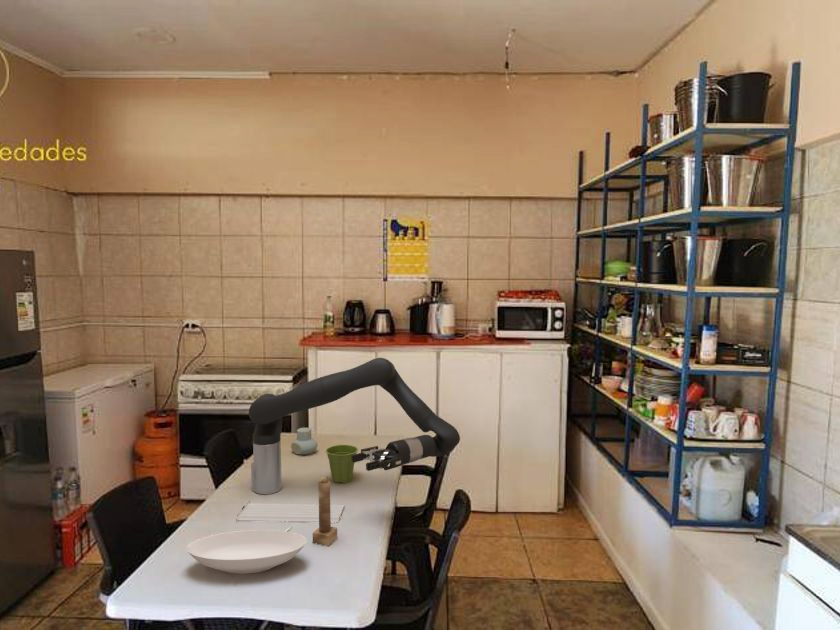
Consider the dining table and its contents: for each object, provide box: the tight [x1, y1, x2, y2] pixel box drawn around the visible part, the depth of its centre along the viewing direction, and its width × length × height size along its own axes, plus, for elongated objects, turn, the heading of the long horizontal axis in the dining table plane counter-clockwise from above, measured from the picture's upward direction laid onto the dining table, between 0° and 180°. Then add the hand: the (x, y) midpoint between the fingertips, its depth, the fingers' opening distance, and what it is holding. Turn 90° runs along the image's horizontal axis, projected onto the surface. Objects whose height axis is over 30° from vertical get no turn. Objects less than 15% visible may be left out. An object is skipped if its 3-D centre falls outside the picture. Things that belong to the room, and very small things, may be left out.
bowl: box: [186, 529, 307, 575], centre depth 137 cm, size 30×15×6 cm, turn 94°
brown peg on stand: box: [312, 476, 338, 547], centre depth 150 cm, size 5×5×18 cm
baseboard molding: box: [237, 500, 345, 524], centre depth 166 cm, size 31×3×12 cm
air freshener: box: [290, 427, 319, 456], centre depth 223 cm, size 11×8×10 cm
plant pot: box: [325, 444, 359, 484], centre depth 195 cm, size 12×12×11 cm
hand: (359, 463), depth 156 cm, fingers open, 8 cm apart
